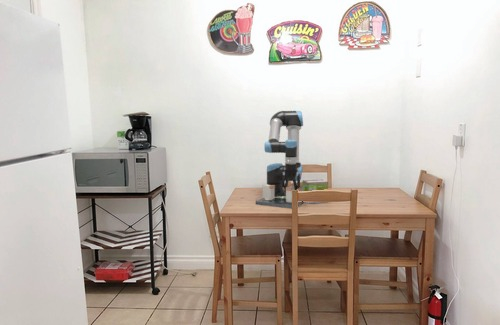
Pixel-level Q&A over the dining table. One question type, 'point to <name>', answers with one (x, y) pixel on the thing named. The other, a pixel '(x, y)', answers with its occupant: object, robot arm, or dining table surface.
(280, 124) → the robot arm
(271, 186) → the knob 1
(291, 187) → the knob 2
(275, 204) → the levelling base
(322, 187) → the tea box
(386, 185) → the dining table surface
